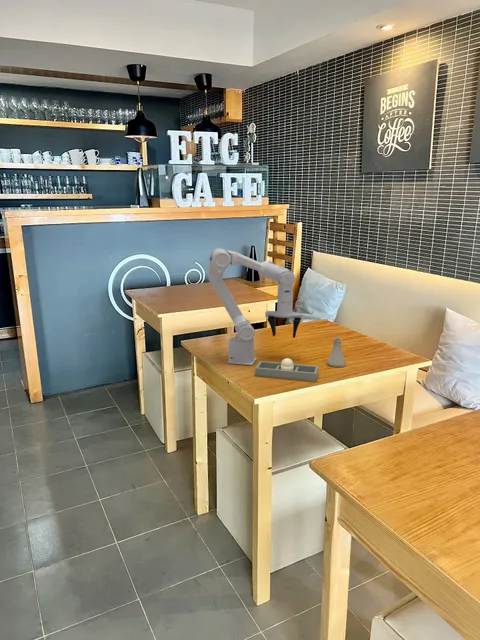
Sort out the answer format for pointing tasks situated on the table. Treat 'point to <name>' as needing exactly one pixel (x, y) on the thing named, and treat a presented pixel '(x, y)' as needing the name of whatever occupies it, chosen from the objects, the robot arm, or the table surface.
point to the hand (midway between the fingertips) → (284, 336)
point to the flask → (336, 355)
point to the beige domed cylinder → (287, 364)
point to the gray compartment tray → (287, 371)
